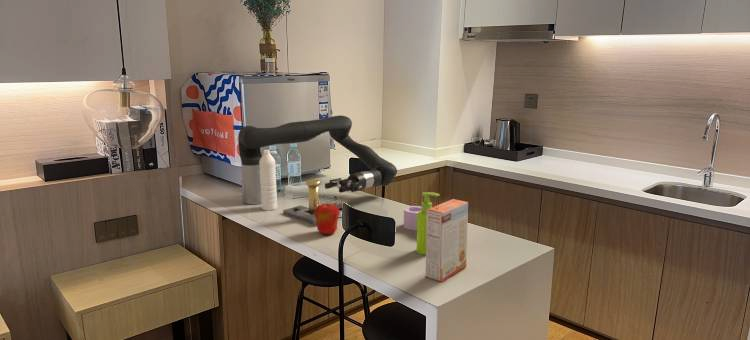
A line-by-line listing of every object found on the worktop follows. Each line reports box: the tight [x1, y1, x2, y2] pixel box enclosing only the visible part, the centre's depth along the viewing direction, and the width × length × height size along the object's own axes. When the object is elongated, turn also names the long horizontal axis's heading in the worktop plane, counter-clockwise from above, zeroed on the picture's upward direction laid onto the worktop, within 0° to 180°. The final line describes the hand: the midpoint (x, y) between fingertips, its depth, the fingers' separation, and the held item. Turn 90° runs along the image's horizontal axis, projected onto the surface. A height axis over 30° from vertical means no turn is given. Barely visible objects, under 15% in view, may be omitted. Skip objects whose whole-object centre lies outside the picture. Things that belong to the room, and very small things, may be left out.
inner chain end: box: [282, 205, 314, 225], centre depth 202 cm, size 19×9×2 cm, turn 47°
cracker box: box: [425, 198, 469, 283], centre depth 148 cm, size 14×6×21 cm, turn 139°
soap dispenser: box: [416, 191, 440, 256], centre depth 164 cm, size 6×7×20 cm
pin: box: [305, 179, 321, 214], centre depth 197 cm, size 6×6×15 cm
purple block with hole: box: [403, 205, 421, 232], centre depth 186 cm, size 20×12×7 cm, turn 53°
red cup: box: [315, 202, 340, 236], centre depth 182 cm, size 9×8×12 cm
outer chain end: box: [297, 207, 317, 226], centre depth 197 cm, size 13×9×4 cm
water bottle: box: [259, 149, 278, 211], centre depth 209 cm, size 9×6×25 cm
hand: (332, 188), depth 203 cm, fingers open, 8 cm apart
